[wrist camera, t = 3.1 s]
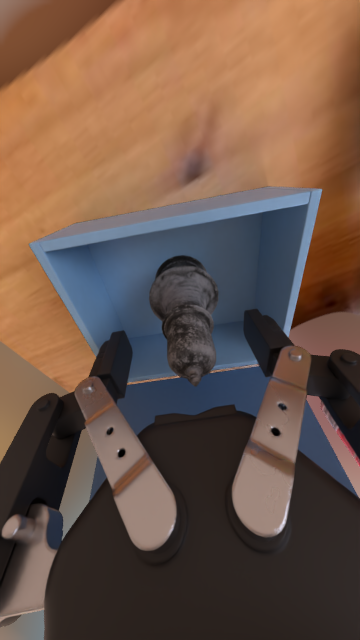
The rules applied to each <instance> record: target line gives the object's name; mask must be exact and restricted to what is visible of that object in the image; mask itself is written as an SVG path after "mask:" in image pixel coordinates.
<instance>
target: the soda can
mask: <svg viewBox="0 0 360 640" xmlns="http://www.w3.org/2000/svg"><path fill="white" fill-rule="evenodd" d="M321 410H322V411H323V413H324V414H325V416H326V417H327V419H328V420H329V422H330V423H331V425H332V426H333V428H334V429H335V431H336V432H337V434H338V435H339V437H340V438H341V440H342V441H343V443H344V444H345V445H346V447H347V448H348V450H349V451H350V453H351V454H352V456H353V457H354V459H355V460H356V462H357V463H358V465H359V466H360V460H359V458H358V457H357V455H356V454H355V452H354V450H353V449H352V447H351V446H350V444H349V443H348V441H347V440H346V438H345V436H344V435H343V433H342V432H341V430H340V429H339V427H338V426H337V424H336V422H335V421H334V419H333V418H332V416H331V415H330V413H329V412H328V410H327V408H326V407H325V405H324V404H323V402H322V401H321Z"/></svg>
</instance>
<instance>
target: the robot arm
mask: <svg viewBox="0 0 360 640" xmlns="http://www.w3.org/2000/svg"><path fill="white" fill-rule="evenodd" d="M243 331H244V336H245V338H246V340H247V342H248V344H249V346H250V348H251V350H252V352H253V354H254V356H255V358H256V360H257V362H258V364H259V366H260V368H261V370H262V371H263V373H264V375H265V377H270V380H269V383H268V386H267V388H266V391H265V394H264V397H263V400H262V403H261V406H260V409H259V412H258V415H257V417H256V416H254V415H252V414H249V413H246V412H243V411H238V410H236V407H235V404H232V405H225V406H218V407H213V408H211V409H209V410H206V411H204V412H202V413H199V414H197V415H188V414H179V413H170V414H163V415H156V416H155V422H154V423H152V424H150V425H148V426H147V427H145V428H144V429H143V430H142V431H141V432H140V433H139V434H138V435H137V436H136V434H135V433H134V431H133V429H132V428H131V426H130V425H129V423H128V422H127V420H126V419H125V417H124V415H123V414H122V412H121V411H120V409H119V408H118V406H117V401H118V399H122V398H125V393H126V387H127V382H128V377H129V372H130V366H131V361H132V356H133V351H132V347H131V344H130V342H129V339H128V337H127V335H126V332H125V331H124V330H123V331H117V332H112V334H111V336H110V339H109V340H108V341H105V342H104V343H103V345H102V346H101V347H100V349H99V352H98V354H97V357H96V359H95V362H94V365H93V367H92V370H91V372H90V375H89V377H88V378H86V379H84V380H83V381H82V382H80V383H79V384H78V386H77V387H76V389H75V391H74V392H71V393H69V394H67V395H64V396H62V397H59V396H58V395H57V394H54V393H49V394H46V395H44V396H42V397H41V398H39V399H38V400H37V401H36V402H35V403H34V404H33V405H32V407H31V408H30V410H29V412H28V414H27V415H26V417H25V419H24V421H23V423H22V425H21V426H20V428H19V430H18V432H17V434H16V436H15V437H14V439H13V441H12V443H11V445H10V447H9V448H8V450H7V452H6V454H5V456H4V458H3V460H2V461H1V463H0V627H2V626H7V625H10V624H12V623H13V622H15V621H16V620H17V619H18V618H19V617H20V616H21V615H22V614H26V613H30V612H35V611H40V610H44V624H45V631H44V640H360V498H358V497H357V496H356V495H355V494H354V493H352V492H351V491H350V490H348V489H347V488H346V487H345V486H343V485H342V484H341V483H340V482H338V481H337V480H336V479H335V478H333V477H332V476H331V475H330V474H328V473H327V472H326V471H325V470H323V469H322V468H321V467H320V466H318V465H317V464H316V463H315V462H313V461H312V460H311V459H310V458H308V457H307V456H306V455H305V454H303V453H302V452H301V451H299V450H298V444H299V439H300V433H301V427H302V421H303V415H304V409H305V404H306V398H307V395H312V396H319V398H320V399H321V401H322V402H323V404H324V405H325V407H326V408H327V410H328V412H329V413H330V415H331V416H332V418H333V419H334V421H335V422H336V424H337V426H338V427H339V429H340V430H341V432H342V433H343V435H344V436H345V438H346V440H347V441H348V443H349V444H350V446H351V447H352V449H353V450H354V452H355V454H356V455H357V457H358V458H359V460H360V355H359V354H357V353H355V352H352V351H349V350H343V349H342V350H341V349H339V350H335V351H333V352H332V353H331V355H330V357H329V356H318V355H310V353H309V352H308V351H306V350H305V349H303V348H301V347H298V346H294V344H293V343H292V342H291V340H290V339H289V338H288V337H287V335H286V334H285V333H284V332H283V330H281V328H280V327H279V325H278V324H277V323H276V321H275V320H274V319H273V318H271V317H269V316H268V315H262V314H261V313H260V312H259V310H258V309H251V310H245V311H244V326H243ZM85 428H86V429H87V431H88V434H89V436H90V438H91V441H92V443H93V445H94V448H95V450H96V452H97V455H98V457H99V460H100V462H101V464H102V467H103V469H104V471H105V474H106V476H107V478H106V479H105V480H104V482H103V483H102V485H101V486H100V487H99V489H98V490H97V492H96V493H95V494H94V496H93V497H92V499H91V500H90V501H89V503H88V504H87V506H86V507H85V508H84V510H83V511H82V513H81V514H80V516H79V517H78V518H77V520H76V521H75V523H74V524H73V525H72V527H71V528H70V530H69V531H68V533H67V534H66V535H65V537H64V539H63V540H62V536H63V531H62V528H63V517H62V514H61V513H60V512H59V507H60V504H61V500H62V497H63V494H64V490H65V487H66V483H67V480H68V476H69V473H70V469H71V466H72V462H73V459H74V455H75V452H76V448H77V445H78V441H79V438H80V434H81V431H82V430H83V429H85ZM50 438H51V439H50ZM48 443H49V444H48Z"/></svg>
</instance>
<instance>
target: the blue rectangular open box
mask: <svg viewBox="0 0 360 640" xmlns="http://www.w3.org/2000/svg"><path fill="white" fill-rule="evenodd" d="M321 193H322V189H315V188H292V187H269V186H268V187H263V188H258V189H253V190H247V191H242V192H237V193H232V194H226V195H221V196H216V197H211V198H205V199H200V200H195V201H190V202H184V203H179V204H174V205H169V206H163V207H158V208H153V209H148V210H142V211H137V212H132V213H127V214H121V215H116V216H111V217H106V218H101V219H95V220H90V221H85V222H80V223H75V224H72V225H70V226H68V227H65V228H63V229H61V230H59V231H56V232H54V233H52V234H50V235H47V236H45V237H43V238H41V239H38V240H36V241H34V242H32V243H29V246H30V248H31V249H32V251H33V253H34V254H35V256H36V258H37V259H38V261H39V263H40V264H41V266H42V268H43V269H44V271H45V273H46V274H47V276H48V278H49V279H50V281H51V283H52V284H53V286H54V288H55V289H56V291H57V293H58V294H59V296H60V298H61V299H62V301H63V303H64V304H65V306H66V308H67V309H68V311H69V313H70V314H71V316H72V318H73V319H74V321H75V323H76V324H77V326H78V328H79V329H80V331H81V333H82V334H83V336H84V338H85V339H86V341H87V343H88V344H89V346H90V348H91V349H92V351H93V353H94V354H95V356H96V357H97V354H98V352H99V349H100V347H101V346H102V345H103V343H104V342H105V341H108V340H109V339H110V336H111V334H112V332H117V331H123V330H124V331H125V332H126V335H127V337H128V339H129V342H130V344H131V347H132V351H133V356H132V361H131V366H130V372H129V377H128V382H127V383H129V382H135V381H142V380H149V379H156V378H163V377H170V376H177V374H175V373H174V372H173V371H172V370H171V368H170V367H169V364H168V360H167V339H166V338H165V337H164V335H163V332H162V321H161V320H160V319H159V318H158V317H157V316H156V315H155V314H154V313H153V311H152V309H151V307H150V302H149V292H150V289H151V286H152V284H153V282H154V281H155V275H156V273H157V270H158V268H159V267H160V266H161V264H162V263H163V262H165V261H166V260H167V259H169V258H172V257H174V256H180V255H185V256H191V257H193V258H195V259H197V260H198V261H199V262H201V263H202V264H203V266H204V267H205V269H206V271H207V273H208V274H209V275H210V276H212V278H213V279H214V281H215V282H216V284H217V288H218V291H219V300H218V303H217V306H216V308H215V310H214V312H213V313H212V314H211V316H212V319H213V322H214V328H213V332H212V334H211V336H212V339H213V343H214V346H215V350H216V363H215V366H214V367H213V369H212V370H219V369H226V368H233V367H240V366H247V365H254V364H258V362H257V360H256V358H255V356H254V354H253V352H252V350H251V348H250V346H249V344H248V342H247V340H246V338H245V336H244V331H243V326H244V311H245V310H251V309H258V310H259V312H260V313H261V314H262V315H268V316H269V317H271V318H273V319H274V320H275V321H276V323H277V324H278V325H279V327H280V328H281V330H283V332H284V333H285V334H286V335H287V337H289V332H290V328H291V324H292V320H293V315H294V311H295V306H296V302H297V298H298V293H299V289H300V285H301V280H302V276H303V271H304V267H305V263H306V258H307V254H308V250H309V245H310V241H311V237H312V232H313V228H314V223H315V219H316V215H317V210H318V206H319V202H320V197H321ZM212 370H211V371H212Z"/></svg>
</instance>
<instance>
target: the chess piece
mask: <svg viewBox="0 0 360 640" xmlns="http://www.w3.org/2000/svg"><path fill="white" fill-rule="evenodd" d="M218 300H219V291H218V288H217V284H216V282H215V281H214V279H213V278H212V276H210V275H209V274H208V273H207V271H206V269H205V267H204V266H203V264H202V263H201V262H199V261H198V260H197V259H195V258H193V257H191V256H185V255H180V256H174V257H172V258H169V259H167V260H166V261H165V262H163V263H162V264H161V266H160V267H159V268H158V270H157V273H156V275H155V281H154V282H153V284H152V286H151V289H150V292H149V302H150V307H151V309H152V311H153V313H154V314H155V315H156V316H157V317H158V318H159V319H160V320H161V321H162V332H163V335H164V337H165V338H166V339H167V360H168V364H169V367H170V368H171V370H172V371H173V372H174V373H175V374H177V375H178V376H180V377H182V378H186V379H188V381H189V382H190V383H191V384H192V385H194V386H195V387H196V386H197V385H198V384H199V382H200V381H201V379H202V378H201V377H203V376H205V375H207V374H208V373H209V372H210V371H211V370H212V369H213V367H214V366H215V363H216V350H215V346H214V343H213V339H212V336H211V334H212V332H213V328H214V322H213V319H212V316H211V314H212V313H213V312H214V310H215V308H216V306H217V303H218Z"/></svg>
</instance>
